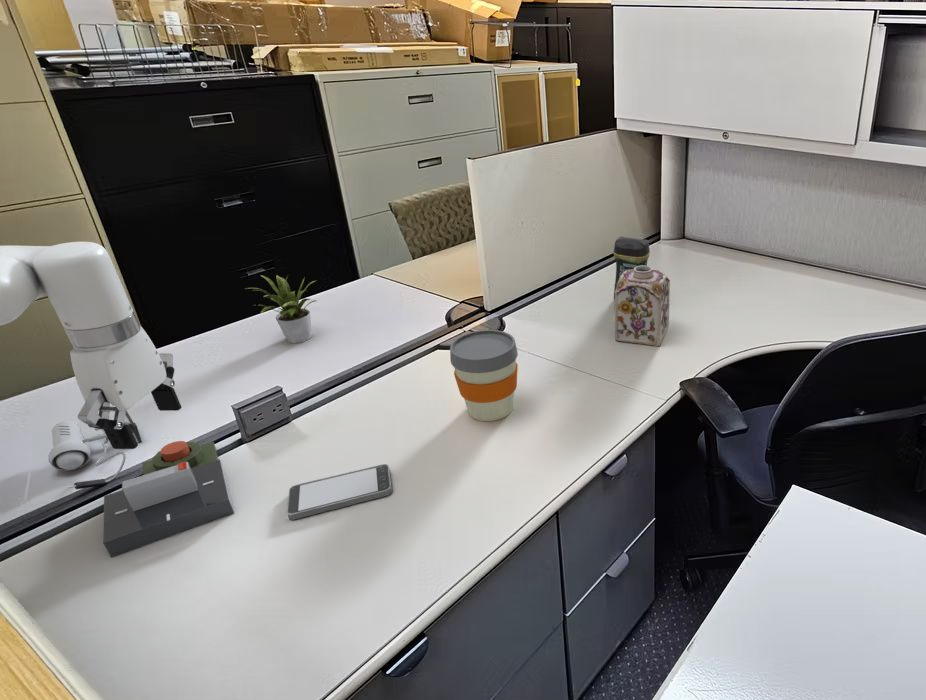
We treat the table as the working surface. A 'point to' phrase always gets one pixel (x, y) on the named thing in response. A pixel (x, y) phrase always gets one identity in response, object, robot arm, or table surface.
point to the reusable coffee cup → (486, 372)
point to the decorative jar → (642, 306)
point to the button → (175, 451)
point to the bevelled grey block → (159, 486)
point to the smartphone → (338, 491)
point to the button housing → (195, 458)
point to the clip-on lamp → (81, 449)
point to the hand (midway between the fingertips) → (149, 427)
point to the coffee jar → (629, 255)
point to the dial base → (166, 512)
